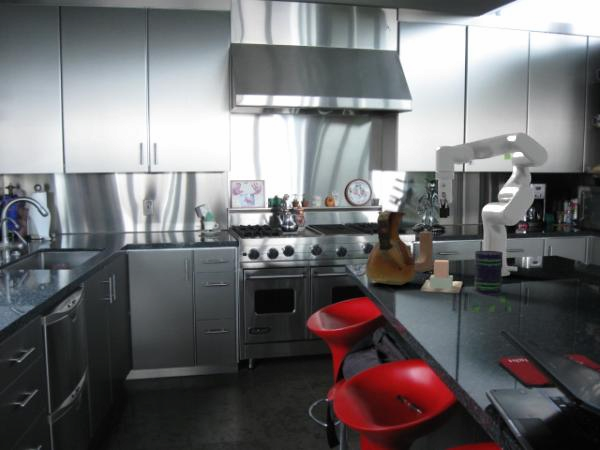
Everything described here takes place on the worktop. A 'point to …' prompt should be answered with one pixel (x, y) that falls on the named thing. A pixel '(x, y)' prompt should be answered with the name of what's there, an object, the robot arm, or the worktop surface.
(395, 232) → the ceramic pitcher
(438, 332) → the worktop surface
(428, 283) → the build board
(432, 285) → the sage base brick
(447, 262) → the terracotta brick
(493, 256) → the storage jar
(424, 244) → the wooden block
